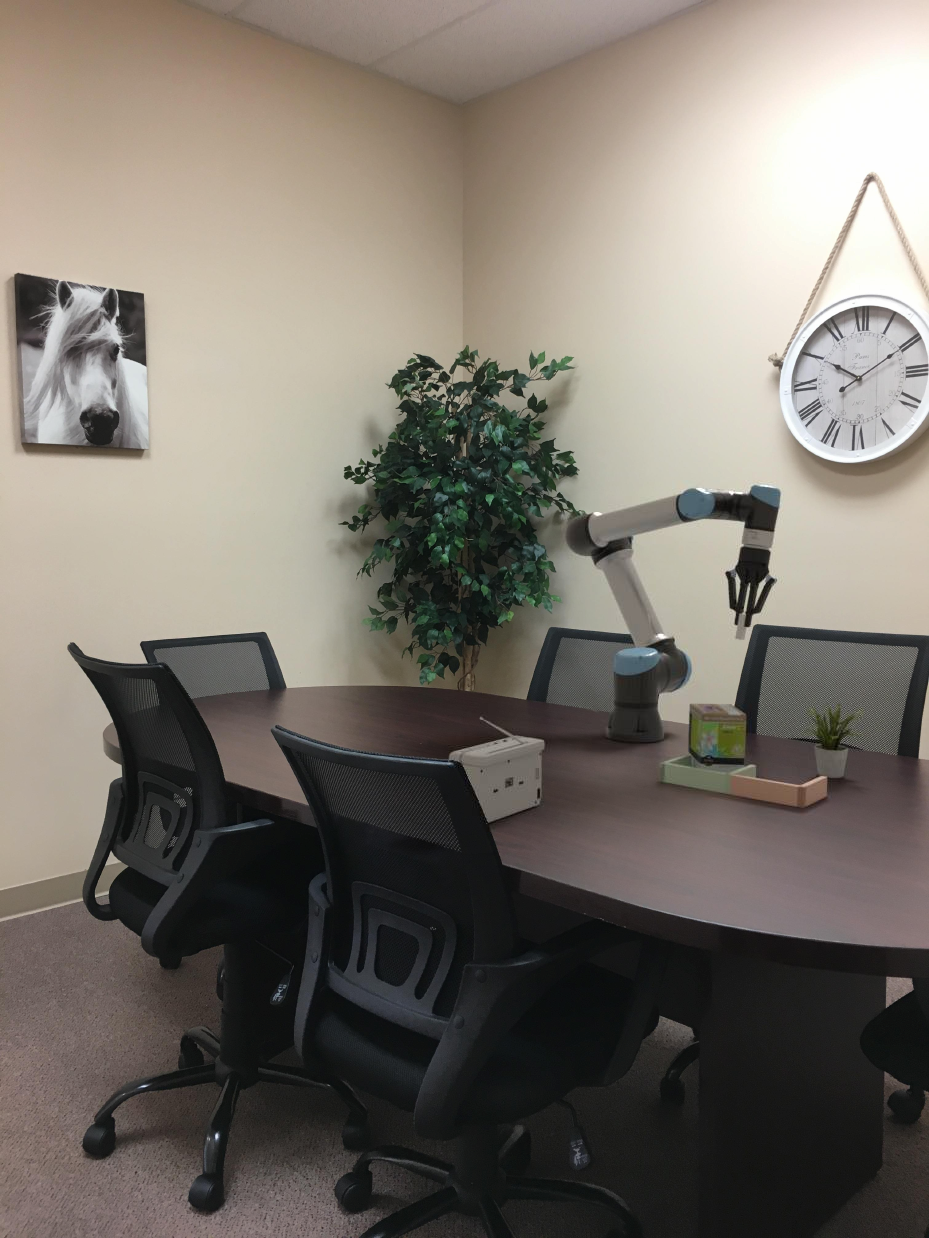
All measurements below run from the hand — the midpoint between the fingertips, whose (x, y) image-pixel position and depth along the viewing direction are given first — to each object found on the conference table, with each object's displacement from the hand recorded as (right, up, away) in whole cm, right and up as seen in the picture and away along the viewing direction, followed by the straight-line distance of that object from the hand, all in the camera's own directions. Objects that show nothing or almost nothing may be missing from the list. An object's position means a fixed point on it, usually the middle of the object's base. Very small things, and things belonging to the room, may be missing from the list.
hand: (739, 639), depth 242 cm
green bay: (-18, -30, -38) cm, 51 cm away
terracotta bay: (-6, -31, -49) cm, 58 cm away
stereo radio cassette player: (-64, -32, -62) cm, 95 cm away
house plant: (+11, -30, -33) cm, 46 cm away
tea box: (-14, -30, -29) cm, 44 cm away
